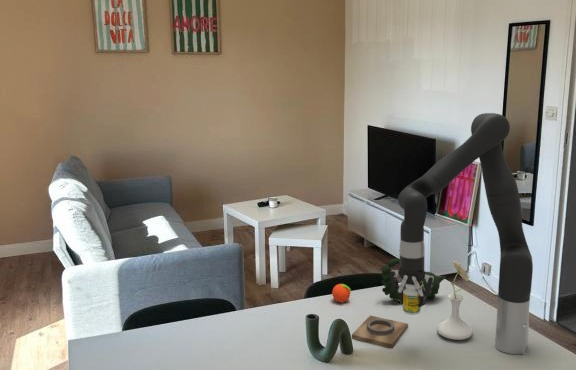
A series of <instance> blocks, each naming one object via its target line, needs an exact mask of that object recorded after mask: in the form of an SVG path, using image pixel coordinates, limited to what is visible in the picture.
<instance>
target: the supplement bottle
mask: <svg viewBox="0 0 576 370" xmlns="http://www.w3.org/2000/svg"><path fill="white" fill-rule="evenodd" d="M405 287H406V288H405V289H404V290H403V304H402V311H403V313H405V314H406V315H409V316H410V315H411V316H413V315H414V316H416V315H418V314H420V312H421V307H419V296H420V295H419V292H418V290H417V289H416V286H415V285H412V284H406V283H405Z"/></svg>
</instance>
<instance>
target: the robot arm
mask: <svg viewBox="0 0 576 370" xmlns="http://www.w3.org/2000/svg"><path fill="white" fill-rule="evenodd" d="M470 125H471V126H470V133H471V135H470V137H468V138H467V139H466V140H465V141H464V142H463V143H462V144H461V145H460V146H458V147H457V148H455V149H453V151H451V152H449V153H448V154H446V155H445V156H444V157H441V159H439V160H438V161H437V162H435V164H433V165H432V167H431V168H430V169H428V170H427V172H425V173H424V174H423V175H422V176H421V177H419V178H417V179H416V180H414V181H412V182H411V183H409V184H408V185H407V186H405V187H404V188H403V190H401V192H400V193H399V195H398V198H397V202H398V204H399V206H400V208H402V209H403V211H404V212H403V214H404V215H403V220H402V221H401V223H400V234H399V236H400V240H399V250H398V252H399V259H400V263H399V269H394V268H393V269H391V272H390V277H391V282H392V287H393V289H394V290H397V291H398V292H399V299H398V302H399V303H400V304H401V305H403V290H404V288H405V283H406V284H412V285H415V286H416V289H417V290H418V292H419V295H420V296H419V307H420V308H422V307H423V306H424V305H425V303H426V297H425V295H429V294H430V293H431V291H432V286H433V282H434V278H435V277H434V275H431V276H429V275H426V273H425V272H426V271H425V256H426V255H425V253H426V252H425V247H426V246H425V238H424V237H425V222H426V220H427V219H426V218H427V214H428V201H427V198H428V197H430V196H431V195H434V194H435V195H437V194H438V193H440V192H441V191H443V189H445V188H446V187H447V186H448V185H449V184H450V183H451V182H452V181H454V179H456V177H458V176H459V175H461V173H462V172H463V171H465V170H466V168H468V167H470V165H471V164H473V163H474V162H475V161H476V160H478V159H479V162H480V168H481V169H480V170H481V173H482V179H483V180H482V181H483V184H484V191H485V196H486V199H487V206H488V209H489V212H490V214H491V218H492V220H493V223H494V225H495V227H496V230H497V233H498V239H499V249H500V251H499V252H500V255H499V256H500V260H499V271H498V272H499V273H498V274H499V275H498V288H497V290H498V291H497V292H498V293H497V307H496V308H497V309H496V322H495V323H496V326H495V340H494V341H495V342H494V343H495V344H494V345H495V348H496V349H497V350H499V351H501V352H503V353H506V354H509V355H523V356H524V355H525V354H526V352H527V349H528V343H529V342H528V341H529V327H530V319H529V318H530V317H529V316H530V315H529V313H530V305H531V304H530V301H531V300H530V299H531V292H532V284H533V283H532V281H533V269H534V268H533V267H534V265H533V256H532V254H531V251H530V248H529V245H528V243H527V239H526V236H525V232H524V227H523V213H522V206H521V204H522V203H521V198H520V193H519V188H518V185H517V181H516V179H515V177H514V173H513V172H512V170H511V167H510V166H509V165H508V163H507V160H506V158H505V155H504V151H503V146H502V145H503V144H502V142H503V141H504V140H506V139H507V137H508V136H509V133H510V131H511V125H510V122H509V119H508V118H507V117H506V116H504V115H503V114H500V113H495V112H490V113H489V112H486V113H485V112H484V113H481V114H478V115H476V116H475V117H474V118H473V120H472V122H471V124H470ZM398 276H399V278H400V279H401V280H402V281H401V282H400V284H399V279H398ZM424 278H425V279H426V282H427V288H426V290H425V289H424V284H423V282H422V280H423V279H424Z"/></svg>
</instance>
